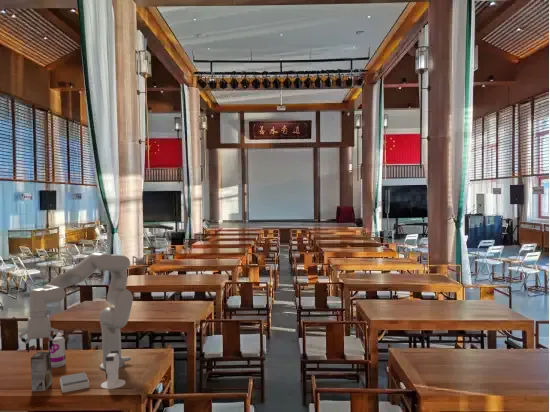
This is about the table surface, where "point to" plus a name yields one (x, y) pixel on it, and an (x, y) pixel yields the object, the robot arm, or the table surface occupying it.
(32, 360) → the coffee box
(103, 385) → the white upright piece
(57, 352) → the supplement can
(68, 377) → the pedestal
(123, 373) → the table surface
